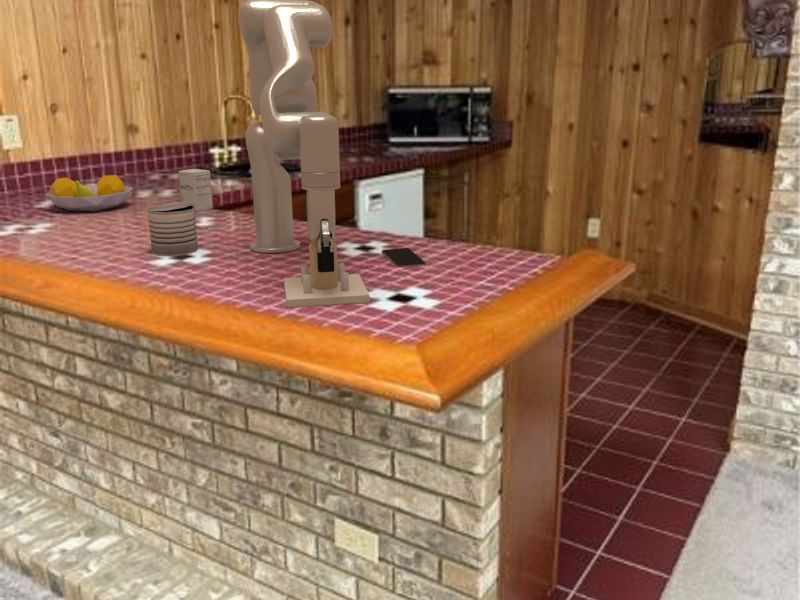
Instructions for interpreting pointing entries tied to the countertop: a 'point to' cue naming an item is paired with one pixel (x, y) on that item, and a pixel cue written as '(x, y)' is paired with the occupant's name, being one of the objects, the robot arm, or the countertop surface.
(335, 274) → the candle
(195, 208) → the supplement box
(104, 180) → the fruit bowl
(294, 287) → the plate
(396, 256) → the smartphone
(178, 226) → the can
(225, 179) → the countertop surface
